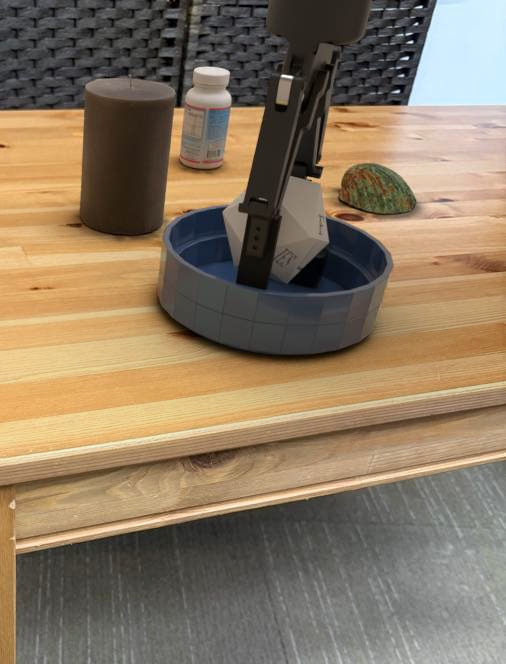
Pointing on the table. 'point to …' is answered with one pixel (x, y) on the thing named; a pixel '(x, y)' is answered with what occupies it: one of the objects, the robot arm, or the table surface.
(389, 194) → the seashell
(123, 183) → the pillar candle
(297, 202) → the die
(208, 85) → the pill bottle
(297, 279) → the wireless earbuds
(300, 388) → the table surface
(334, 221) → the bowl
